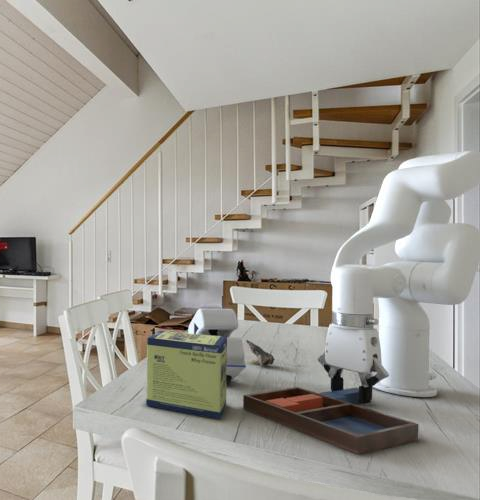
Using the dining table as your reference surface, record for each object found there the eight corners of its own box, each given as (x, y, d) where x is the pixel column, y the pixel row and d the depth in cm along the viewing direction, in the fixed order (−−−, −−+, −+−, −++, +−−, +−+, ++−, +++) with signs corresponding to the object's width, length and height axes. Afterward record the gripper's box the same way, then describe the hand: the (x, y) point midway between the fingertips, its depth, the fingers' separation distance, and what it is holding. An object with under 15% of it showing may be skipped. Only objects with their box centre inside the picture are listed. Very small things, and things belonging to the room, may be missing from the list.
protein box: (221, 420, 99) (222, 345, 98) (145, 406, 107) (145, 337, 106) (227, 405, 107) (228, 336, 107) (156, 393, 116) (157, 329, 115)
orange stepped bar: (308, 403, 106) (308, 392, 106) (326, 409, 103) (326, 398, 102) (265, 410, 102) (265, 399, 102) (282, 417, 98) (282, 405, 98)
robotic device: (228, 401, 132) (214, 334, 143) (256, 375, 114) (238, 300, 125) (189, 400, 133) (178, 333, 144) (211, 373, 115) (197, 300, 126)
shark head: (240, 363, 143) (240, 341, 143) (251, 360, 147) (251, 338, 147) (267, 369, 137) (267, 346, 136) (278, 366, 140) (278, 343, 140)
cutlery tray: (297, 399, 111) (297, 386, 111) (418, 440, 88) (418, 423, 88) (243, 408, 105) (243, 394, 105) (358, 454, 83) (358, 437, 83)
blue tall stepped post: (351, 396, 113) (352, 386, 113) (370, 402, 109) (370, 391, 109) (313, 403, 109) (313, 392, 109) (330, 409, 105) (331, 398, 105)
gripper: (405, 325, 103) (403, 409, 103) (326, 314, 119) (325, 386, 119) (382, 328, 100) (380, 413, 101) (304, 315, 116) (303, 389, 117)
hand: (350, 398), depth 110 cm, fingers open, 5 cm apart
